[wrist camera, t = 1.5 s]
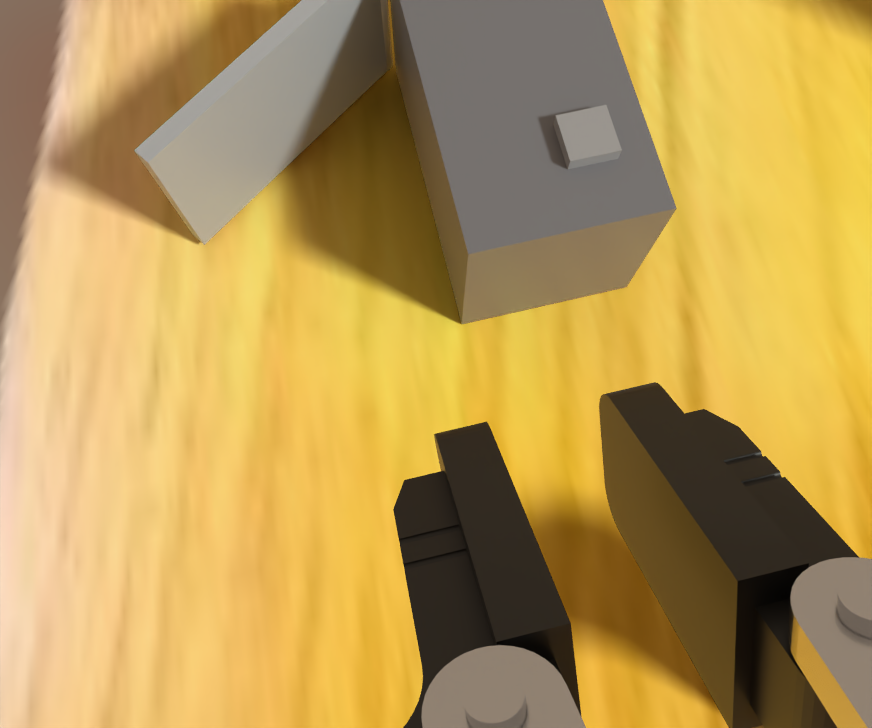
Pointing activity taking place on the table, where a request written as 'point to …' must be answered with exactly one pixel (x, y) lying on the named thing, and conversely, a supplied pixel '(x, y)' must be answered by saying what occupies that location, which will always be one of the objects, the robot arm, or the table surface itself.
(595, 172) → the block
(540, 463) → the table surface
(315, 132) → the door
